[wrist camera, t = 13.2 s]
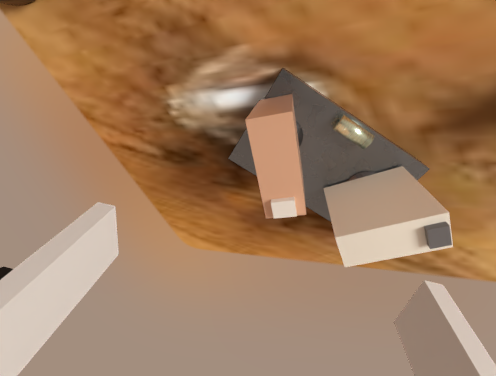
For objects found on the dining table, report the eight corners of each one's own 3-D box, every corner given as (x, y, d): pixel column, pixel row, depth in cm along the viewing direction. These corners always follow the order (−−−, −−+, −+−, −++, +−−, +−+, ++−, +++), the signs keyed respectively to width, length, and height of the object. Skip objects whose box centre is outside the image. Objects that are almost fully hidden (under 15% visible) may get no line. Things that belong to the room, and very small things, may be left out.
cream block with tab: (331, 212, 34) (346, 271, 25) (323, 188, 33) (336, 241, 23) (407, 192, 31) (457, 251, 22) (402, 165, 30) (452, 216, 21)
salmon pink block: (259, 100, 29) (243, 121, 20) (292, 93, 28) (292, 112, 19) (273, 174, 33) (265, 222, 23) (302, 170, 32) (306, 218, 23)
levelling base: (232, 152, 35) (225, 163, 31) (283, 67, 30) (282, 69, 26) (352, 226, 38) (359, 245, 34) (420, 160, 32) (437, 175, 28)
